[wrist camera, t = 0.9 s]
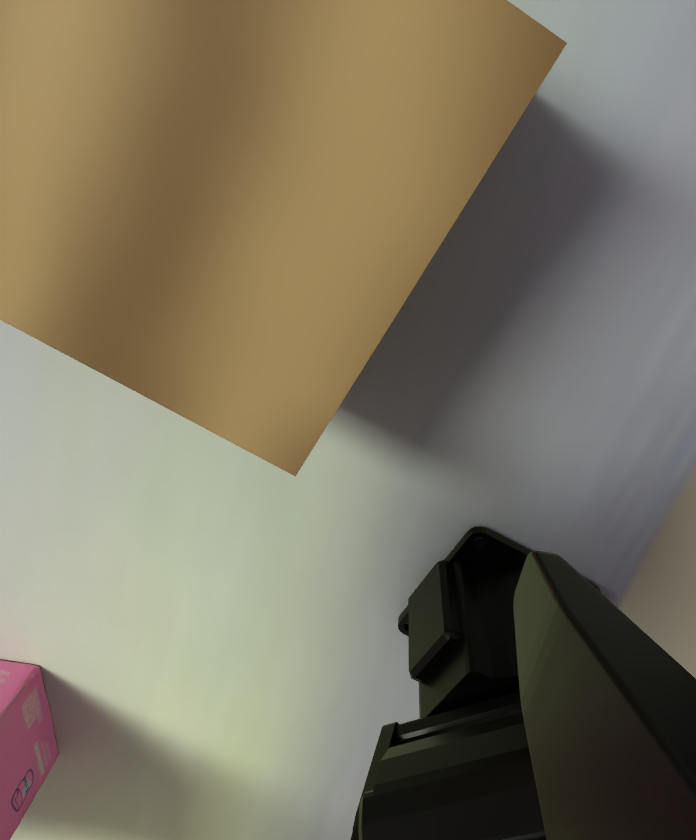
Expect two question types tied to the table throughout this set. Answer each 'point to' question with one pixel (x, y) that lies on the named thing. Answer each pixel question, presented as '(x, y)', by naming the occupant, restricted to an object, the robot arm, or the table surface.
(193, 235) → the tan wooden block
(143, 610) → the table surface
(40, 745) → the gum box
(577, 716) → the robot arm
